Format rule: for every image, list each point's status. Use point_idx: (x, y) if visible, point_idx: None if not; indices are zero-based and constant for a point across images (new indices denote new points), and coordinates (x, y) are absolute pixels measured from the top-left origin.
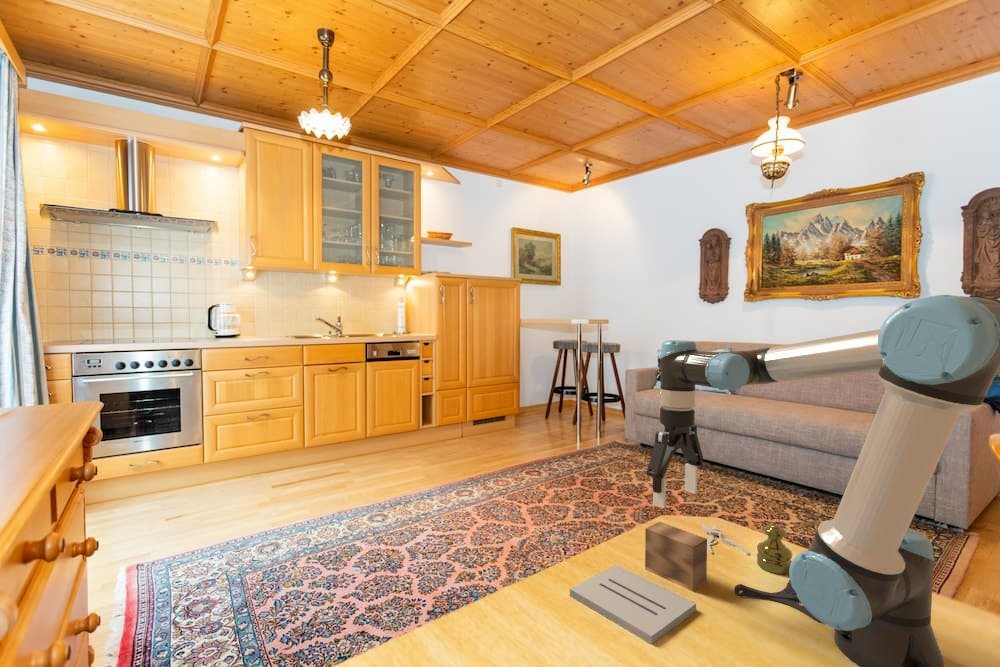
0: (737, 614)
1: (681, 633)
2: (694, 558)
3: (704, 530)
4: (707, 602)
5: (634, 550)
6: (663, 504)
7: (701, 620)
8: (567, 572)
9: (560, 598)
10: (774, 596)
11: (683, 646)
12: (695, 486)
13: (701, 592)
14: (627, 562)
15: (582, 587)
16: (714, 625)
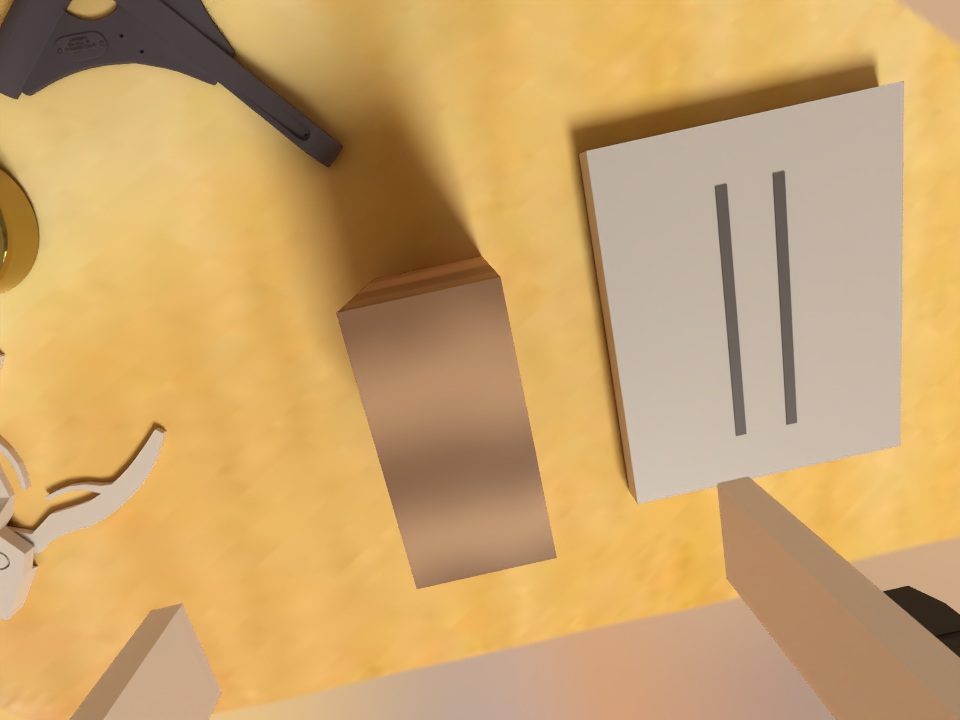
0: (452, 51)
1: (742, 79)
2: (480, 272)
3: (28, 586)
4: (491, 172)
5: None
6: (769, 496)
7: (612, 98)
8: None
9: (915, 435)
10: (201, 35)
11: (799, 19)
12: (139, 666)
13: (454, 235)
14: None
15: (858, 433)
16: (596, 48)
